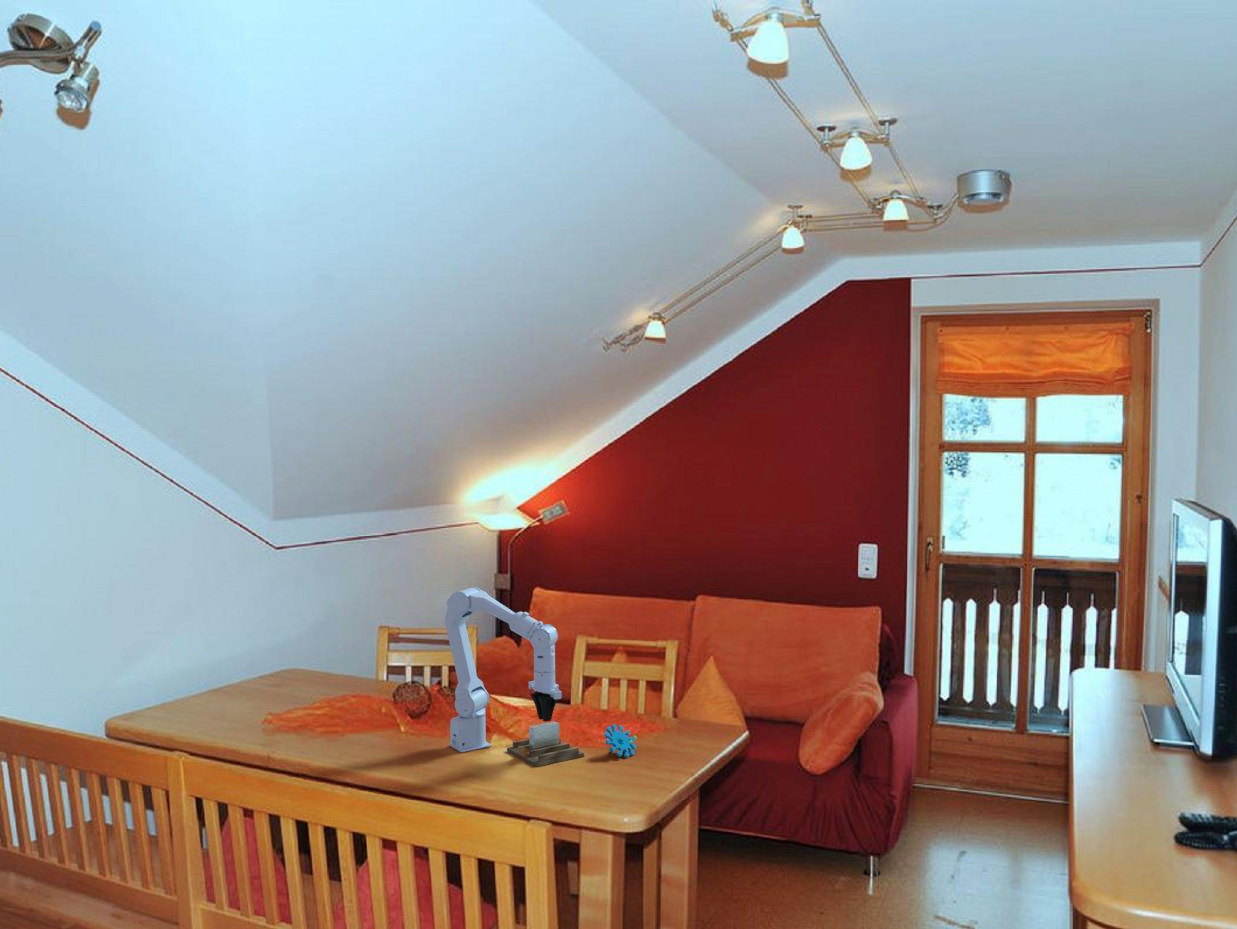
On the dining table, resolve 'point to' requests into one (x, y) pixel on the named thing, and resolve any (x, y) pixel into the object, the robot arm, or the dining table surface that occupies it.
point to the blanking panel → (543, 735)
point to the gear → (620, 741)
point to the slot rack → (544, 753)
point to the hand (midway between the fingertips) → (545, 719)
